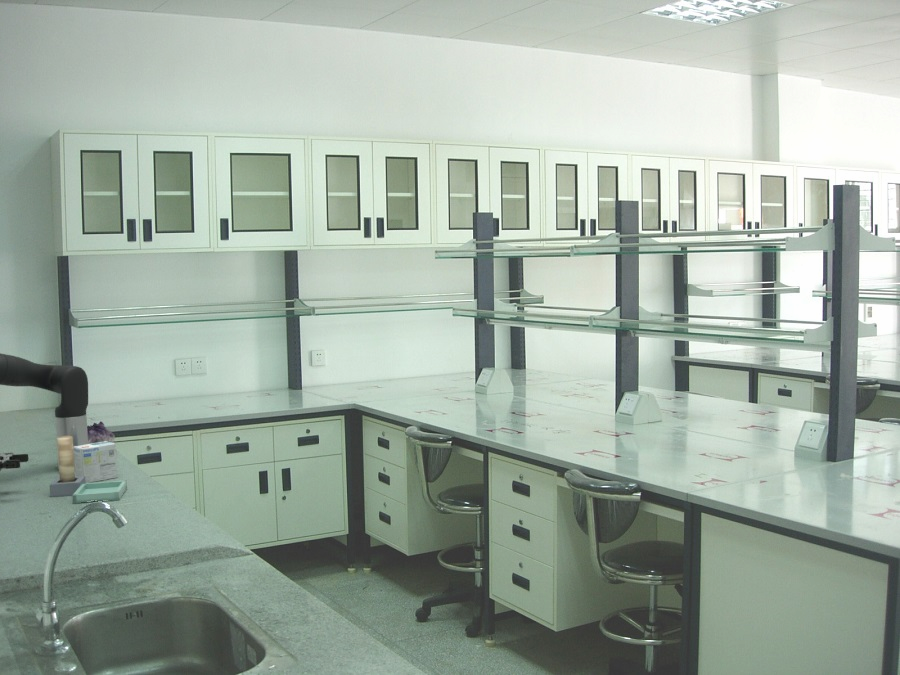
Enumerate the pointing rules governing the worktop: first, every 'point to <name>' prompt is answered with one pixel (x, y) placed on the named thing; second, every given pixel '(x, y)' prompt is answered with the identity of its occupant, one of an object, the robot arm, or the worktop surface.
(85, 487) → the tray
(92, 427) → the geode
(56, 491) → the socket block
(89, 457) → the light bulb box
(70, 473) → the dowel
